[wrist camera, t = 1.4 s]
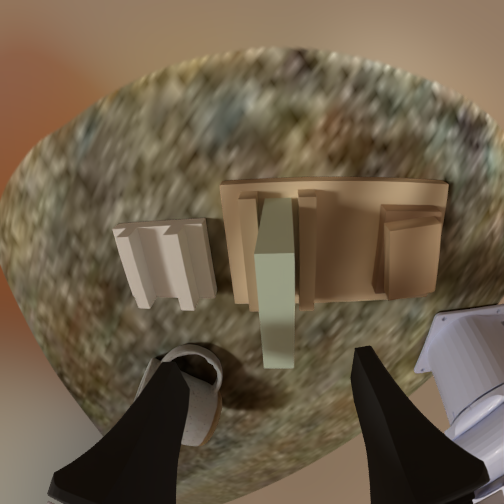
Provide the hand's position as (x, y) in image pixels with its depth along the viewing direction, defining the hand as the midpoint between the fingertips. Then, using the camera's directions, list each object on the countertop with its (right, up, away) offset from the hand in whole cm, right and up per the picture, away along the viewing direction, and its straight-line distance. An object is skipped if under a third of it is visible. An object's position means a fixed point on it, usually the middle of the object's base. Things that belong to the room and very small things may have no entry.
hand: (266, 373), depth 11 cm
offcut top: (+10, +5, +6) cm, 12 cm away
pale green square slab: (+1, +5, +8) cm, 10 cm away
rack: (+5, +6, +9) cm, 12 cm away
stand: (-7, +4, +11) cm, 14 cm away
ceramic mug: (-8, -8, +18) cm, 21 cm away
